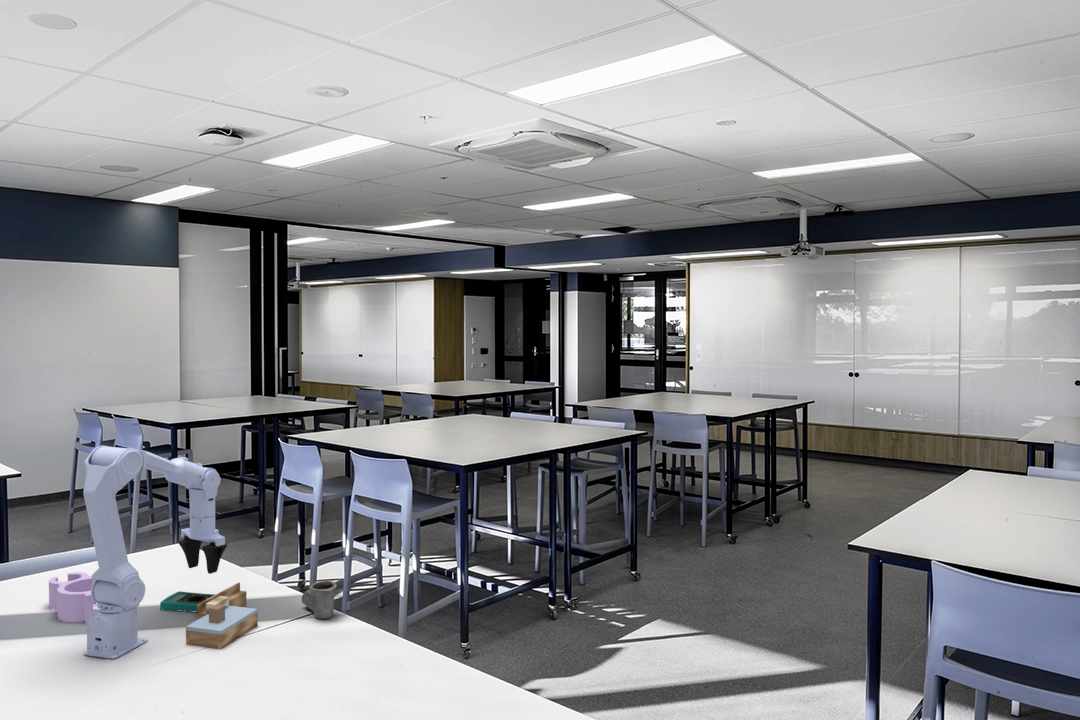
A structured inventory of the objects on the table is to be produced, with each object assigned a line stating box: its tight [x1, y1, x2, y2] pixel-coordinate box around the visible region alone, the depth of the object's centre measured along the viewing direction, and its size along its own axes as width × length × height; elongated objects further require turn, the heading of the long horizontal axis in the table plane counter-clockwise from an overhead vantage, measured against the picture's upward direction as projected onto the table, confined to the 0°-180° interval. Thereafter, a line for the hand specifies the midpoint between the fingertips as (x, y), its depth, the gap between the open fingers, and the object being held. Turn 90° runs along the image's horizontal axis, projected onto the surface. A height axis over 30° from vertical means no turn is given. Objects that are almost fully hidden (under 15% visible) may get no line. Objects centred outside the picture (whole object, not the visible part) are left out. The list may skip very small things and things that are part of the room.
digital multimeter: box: [159, 591, 216, 612], centre depth 184 cm, size 7×15×3 cm, turn 81°
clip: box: [48, 571, 97, 625], centre depth 181 cm, size 20×12×7 cm, turn 59°
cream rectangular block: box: [206, 596, 229, 612], centre depth 172 cm, size 5×2×2 cm, turn 166°
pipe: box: [301, 580, 338, 620], centre depth 181 cm, size 6×13×8 cm, turn 45°
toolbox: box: [185, 582, 259, 650], centre depth 172 cm, size 22×11×6 cm, turn 166°
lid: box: [185, 604, 258, 635], centre depth 168 cm, size 13×9×5 cm
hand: (202, 569), depth 182 cm, fingers open, 7 cm apart
